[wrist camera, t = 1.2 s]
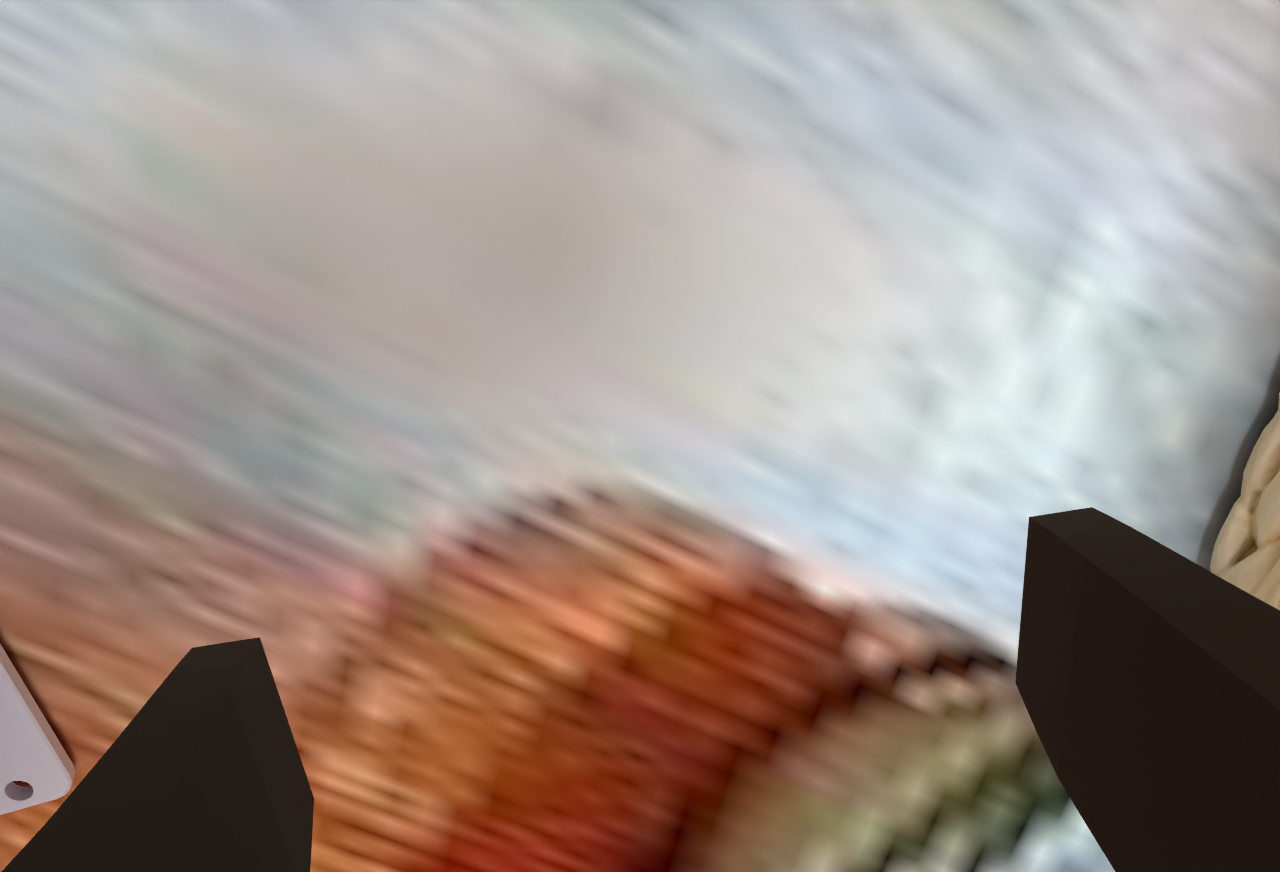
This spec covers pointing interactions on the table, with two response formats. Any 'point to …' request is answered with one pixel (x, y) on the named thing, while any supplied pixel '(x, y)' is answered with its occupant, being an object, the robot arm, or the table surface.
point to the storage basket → (1255, 524)
